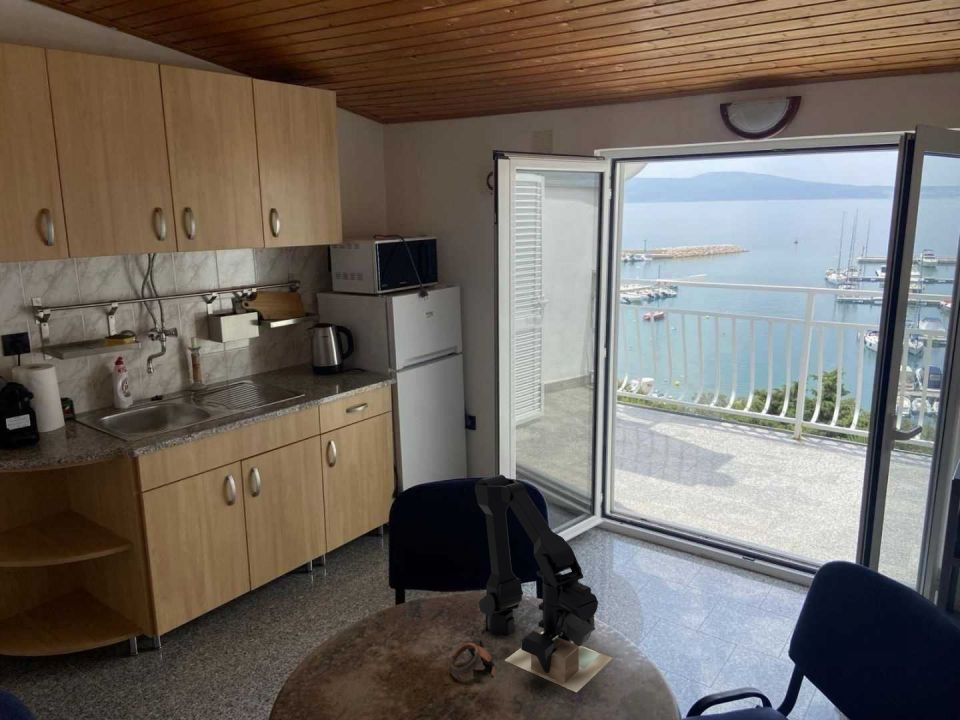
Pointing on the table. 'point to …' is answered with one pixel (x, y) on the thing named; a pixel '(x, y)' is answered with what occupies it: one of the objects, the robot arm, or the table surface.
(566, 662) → the walnut cover
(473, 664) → the pottery mug
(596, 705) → the table surface
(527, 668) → the serving board
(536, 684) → the table surface
